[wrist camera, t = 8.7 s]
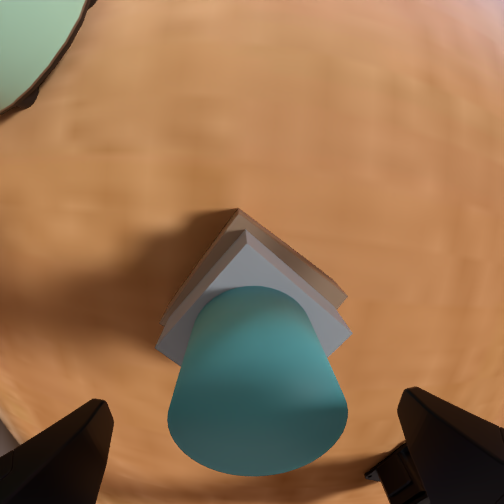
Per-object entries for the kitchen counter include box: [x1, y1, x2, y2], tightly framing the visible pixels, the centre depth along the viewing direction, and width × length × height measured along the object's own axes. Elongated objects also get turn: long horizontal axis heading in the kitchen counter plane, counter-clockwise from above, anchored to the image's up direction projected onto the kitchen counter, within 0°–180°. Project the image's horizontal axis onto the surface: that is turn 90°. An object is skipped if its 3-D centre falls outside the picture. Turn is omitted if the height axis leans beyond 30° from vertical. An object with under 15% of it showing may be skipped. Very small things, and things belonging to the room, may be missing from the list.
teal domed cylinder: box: [167, 286, 348, 476], centre depth 10 cm, size 5×5×5 cm
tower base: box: [159, 208, 348, 327], centre depth 16 cm, size 7×7×3 cm
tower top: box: [155, 229, 352, 366], centre depth 13 cm, size 6×6×3 cm
